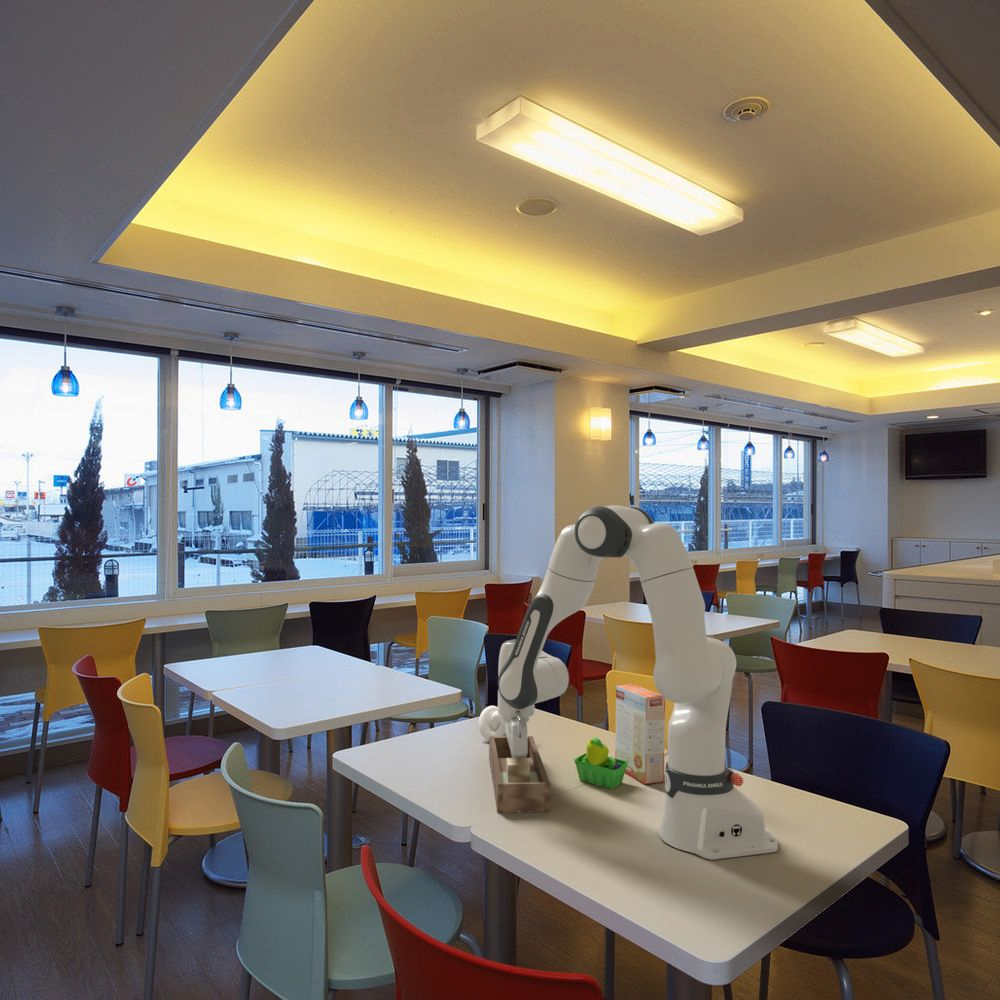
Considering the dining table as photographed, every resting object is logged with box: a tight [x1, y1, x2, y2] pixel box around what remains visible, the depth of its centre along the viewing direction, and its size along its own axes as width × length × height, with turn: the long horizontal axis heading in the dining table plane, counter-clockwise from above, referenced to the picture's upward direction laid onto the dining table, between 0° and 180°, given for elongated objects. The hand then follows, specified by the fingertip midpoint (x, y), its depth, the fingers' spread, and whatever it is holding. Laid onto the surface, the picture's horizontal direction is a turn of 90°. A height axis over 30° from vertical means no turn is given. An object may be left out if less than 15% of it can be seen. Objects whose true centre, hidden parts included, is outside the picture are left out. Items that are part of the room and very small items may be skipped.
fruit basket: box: [573, 737, 628, 790], centre depth 176 cm, size 11×9×11 cm
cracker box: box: [614, 683, 666, 785], centre depth 182 cm, size 14×6×21 cm, turn 22°
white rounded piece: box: [478, 705, 506, 742], centre depth 209 cm, size 11×12×9 cm
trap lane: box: [488, 735, 551, 813], centre depth 174 cm, size 11×34×6 cm, turn 4°
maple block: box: [506, 758, 530, 783], centre depth 169 cm, size 5×5×4 cm
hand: (515, 764), depth 175 cm, fingers closed
